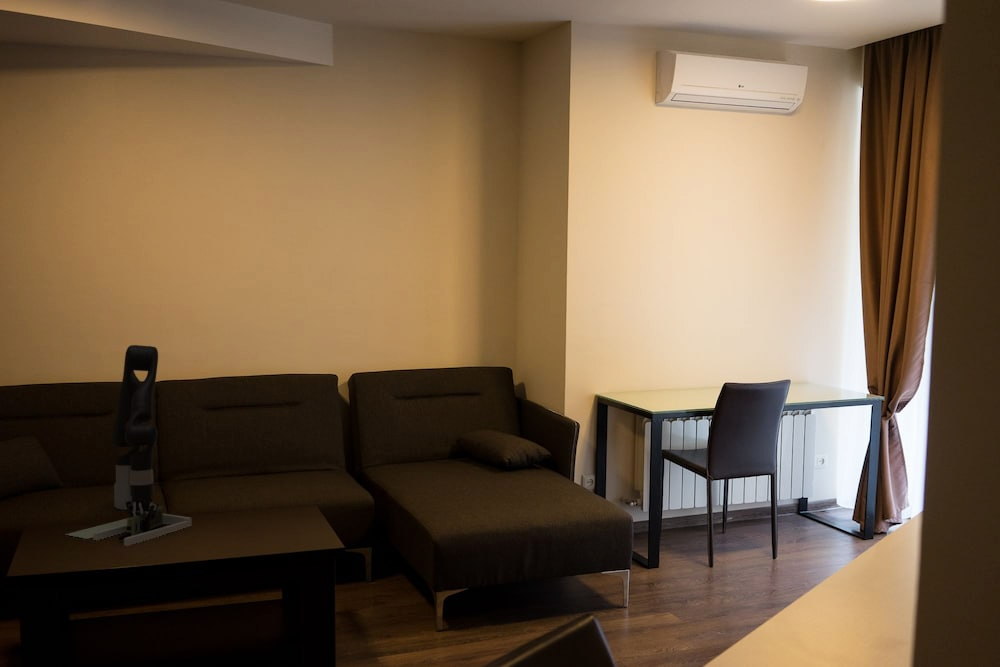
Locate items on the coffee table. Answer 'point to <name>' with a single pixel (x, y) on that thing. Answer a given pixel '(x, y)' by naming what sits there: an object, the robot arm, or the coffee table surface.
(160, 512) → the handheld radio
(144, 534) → the white u-shaped frame
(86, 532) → the green mat
